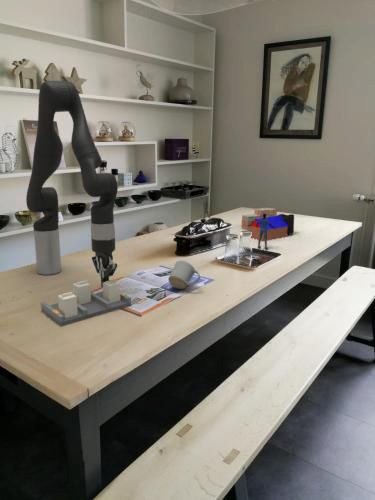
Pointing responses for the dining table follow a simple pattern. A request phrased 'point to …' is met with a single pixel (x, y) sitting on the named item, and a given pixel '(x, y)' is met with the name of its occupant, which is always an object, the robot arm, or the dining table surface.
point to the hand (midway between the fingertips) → (105, 287)
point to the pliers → (205, 207)
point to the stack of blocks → (257, 216)
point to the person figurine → (263, 230)
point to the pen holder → (288, 222)
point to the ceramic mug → (182, 275)
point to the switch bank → (86, 308)
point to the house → (269, 228)
